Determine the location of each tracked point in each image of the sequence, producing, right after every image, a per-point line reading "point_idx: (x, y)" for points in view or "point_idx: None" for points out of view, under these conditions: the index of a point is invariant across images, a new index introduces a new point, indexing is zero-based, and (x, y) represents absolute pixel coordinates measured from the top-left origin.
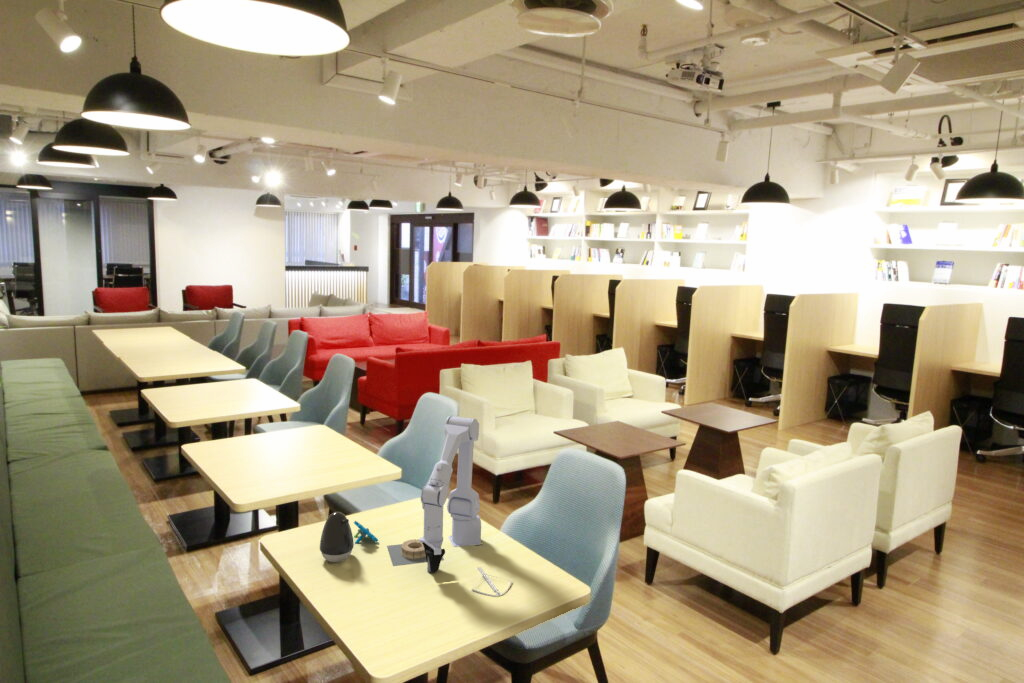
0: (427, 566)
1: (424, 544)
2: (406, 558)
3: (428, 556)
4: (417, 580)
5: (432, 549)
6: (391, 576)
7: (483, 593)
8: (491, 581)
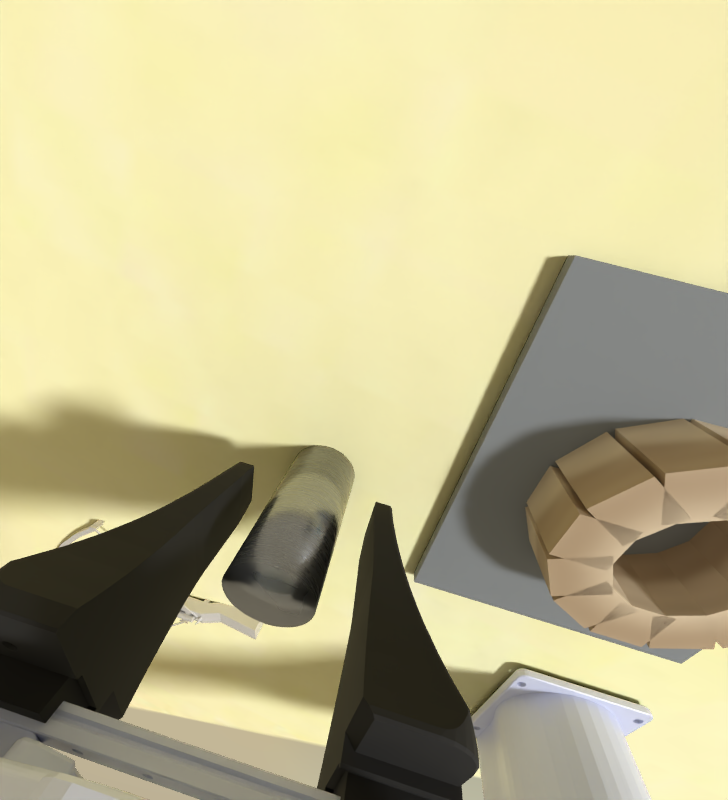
0: (318, 477)
1: (360, 675)
2: (609, 425)
3: (32, 555)
4: (262, 352)
5: (40, 678)
6: (412, 168)
7: (67, 539)
8: None
